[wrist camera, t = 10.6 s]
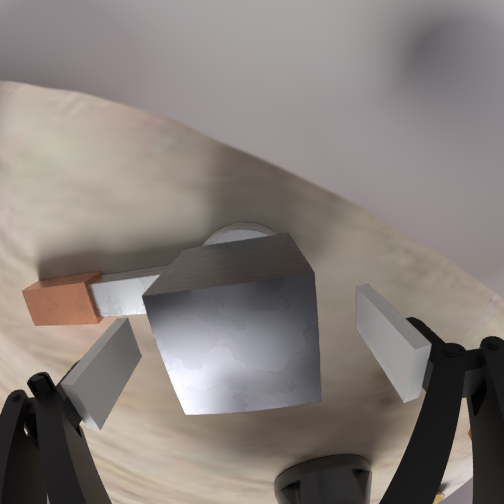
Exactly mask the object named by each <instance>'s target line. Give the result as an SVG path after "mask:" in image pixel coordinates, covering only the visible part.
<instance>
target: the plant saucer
mask: <svg viewBox="0 0 504 504" xmlns="http://www.w3.org/2000/svg"><path fill="white" fill-rule="evenodd" d="M444 497H445V495H444V494H443V493H440V492H437V494H436V497H435V500H434V502H433V504H438V503H439V502H441V501H442V500H443V498H444Z"/></svg>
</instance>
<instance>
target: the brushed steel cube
mask: <svg viewBox="0 0 504 504" xmlns="http://www.w3.org/2000/svg"><path fill="white" fill-rule="evenodd" d="M142 299H143V303H144V306H145V309H146V313H147V316H148V319H149V322H150V325H151V328H152V331H153V334H154V337H155V340H156V342H157V345H158V348H159V351H160V354H161V356H162V359H163V362H164V364H165V367H166V369H167V372H168V374H169V377H170V379H171V382H172V384H173V387H174V389H175V391H176V394H177V396H178V399H179V401H180V403H181V405H182V408H183V410H184V412H185V414H220V413H236V412H248V411H258V410H267V409H275V408H283V407H290V406H296V405H302V404H308V403H313V402H319V401H321V389H320V354H319V332H318V315H317V300H316V287H315V275H314V271H313V270H312V268H311V267H310V265H309V263H308V262H307V260H306V259H305V257H304V256H303V254H302V253H301V251H300V250H299V248H298V247H297V245H296V244H295V242H294V241H293V239H292V238H291V236H290V235H289V233H285V234H278V235H271V236H264V237H258V238H251V239H245V240H238V241H231V242H225V243H218V244H212V245H206V246H199V247H193V248H187V249H184V250H183V251H182V252H181V253H180V254H179V255H178V256H177V257H176V258H175V259H174V260H173V262H172V263H171V264H170V265H169V266H168V267H167V268H166V269H165V270H164V271H163V272H162V274H161V275H160V276H159V277H158V278H157V279H156V280H155V281H154V282H153V284H152V285H151V286H150V287H149V288H148V289H147V290H146V291H145V293H144V294H143V295H142Z"/></svg>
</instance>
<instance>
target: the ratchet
mask: <svg viewBox="0 0 504 504" xmlns="http://www.w3.org/2000/svg"><path fill="white" fill-rule="evenodd" d="M271 235H278V234H277V233H276V232H274V231H273V230H271V229H269V228H267V227H265V226H263V225H259V224H256V223H248V222H242V223H234V224H230V225H227V226H225V227H222V228H221V229H219V230H217V231H216V232H214V233H213V234H212V235H211V236H210V237H209V238H208V239H207V240H206V241H205V242H204V244H203V245H202V246H206V245H212V244H218V243H225V242H231V241H238V240H245V239H251V238H258V237H264V236H271ZM168 266H169V265H166V266H159V267H152V268H146V269H139V270H132V271H126V272H119V273H112V274H106V275H101V271H97V272H91V273H85V274H78V275H72V276H66V277H60V278H54V279H47V280H41V281H38V282H36V283H34V284H33V285H31V286H29V287H28V288H26V289H24V290H23V291H22V293H23V296H24V298H25V301H26V304H27V307H28V309H29V312H30V315H31V317H32V320H33V322H34V325H35V326H39V325H79V324H98V323H99V322H100V321H101V320H102V319H103V318H104V317H106V316H119V315H132V314H143V313H146V309H145V306H144V303H143V299H142V295H143V294H144V293H145V291H146V290H147V289H148V288H149V287H150V286H151V285H152V284H153V282H154V281H155V280H156V279H157V278H158V277H159V276H160V275H161V274H162V272H163V271H164V270H165V269H166V268H167V267H168Z"/></svg>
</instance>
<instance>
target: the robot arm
mask: <svg viewBox="0 0 504 504" xmlns="http://www.w3.org/2000/svg"><path fill="white" fill-rule="evenodd" d="M356 330H357V331H358V333H359V334H360V336H361V337H362V339H363V340H364V342H365V343H366V345H367V346H368V348H369V349H370V351H371V352H372V354H373V355H374V357H375V358H376V360H377V361H378V363H379V364H380V366H381V367H382V369H383V370H384V372H385V374H386V375H387V377H388V378H389V380H390V381H391V383H392V384H393V386H394V388H395V389H396V391H397V392H398V394H399V396H400V397H401V399H402V400H403V402H404V403H405V402H408V401H411V400H414V399H416V398H419V397H420V394H421V390H422V387H423V388H424V390H425V391H426V395H425V399H424V402H423V405H422V408H421V411H420V414H419V417H418V420H417V423H416V425H415V428H414V431H413V433H412V436H411V439H410V441H409V444H408V446H407V448H406V451H405V453H404V455H403V458H402V460H401V462H400V464H399V466H398V469H397V471H396V473H395V475H394V477H393V479H392V481H391V483H390V485H389V487H388V489H387V490H386V492H385V494H384V496H383V498H382V499H381V501H380V503H379V504H433V502H434V500H435V497H436V494H437V492H438V489H439V486H440V484H441V481H442V478H443V475H444V472H445V469H446V466H447V462H448V459H449V455H450V452H451V448H452V444H453V440H454V436H455V432H456V427H457V422H458V417H459V412H460V406H461V400H462V398H465V397H466V399H467V405H468V412H469V419H470V428H471V438H472V452H473V504H504V340H503V339H501V338H499V337H496V336H489V337H486V338H484V339H483V340H482V341H481V344H480V348H479V349H474V350H467V351H466V349H465V348H464V347H463V346H461V345H459V344H456V343H445V342H444V341H443V340H442V339H441V338H439V337H438V336H437V335H436V334H435V333H434V332H433V331H431V329H430V328H429V327H427V326H426V325H425V324H424V323H423V322H422V321H421V320H419V319H416V318H414V317H410V318H406V319H405V318H404V317H403V316H402V315H401V314H400V313H399V312H398V311H397V310H396V309H395V308H394V307H393V306H392V305H391V304H390V303H389V302H387V301H386V300H385V299H384V298H383V297H382V296H381V295H380V294H379V293H378V292H377V291H376V290H374V289H373V288H372V287H371V286H370V285H369V284H366V285H361V286H356ZM141 357H142V355H141V353H140V350H139V347H138V345H137V342H136V339H135V337H134V334H133V331H132V328H131V325H130V322H129V319H128V318H117V319H116V321H115V322H114V323H113V324H112V325H111V326H110V327H109V328H108V329H107V330H106V332H105V333H104V334H103V335H102V336H101V337H100V338H99V339H98V340H97V342H96V343H95V344H94V345H93V346H92V347H91V348H90V350H89V351H88V352H87V353H86V354H85V355H84V356H83V358H82V359H81V360H79V361H78V362H76V363H75V364H74V365H73V367H72V368H71V370H69V371H68V372H67V374H66V375H65V376H64V377H63V378H62V379H61V381H60V382H59V383H58V384H57V385H56V387H55V385H54V383H53V381H52V379H51V378H50V376H49V374H48V373H46V372H40V373H37V374H35V375H33V376H32V377H30V379H29V380H28V382H27V385H28V386H29V388H30V390H31V392H32V393H33V395H34V396H35V397H32V398H28V396H27V394H26V393H25V391H24V390H15V391H14V392H11V394H10V395H9V396H8V397H7V399H6V402H5V404H4V407H3V409H2V412H1V415H0V504H47V494H48V498H49V502H50V504H112V503H111V501H110V499H109V496H108V494H107V492H106V490H105V488H104V486H103V483H102V481H101V479H100V476H99V474H98V472H97V469H96V467H95V464H94V461H93V459H92V456H91V453H90V451H89V448H88V445H87V442H86V439H85V436H84V433H83V430H82V428H81V427H80V425H79V424H80V422H81V420H83V422H84V423H85V425H86V426H87V428H89V429H95V430H101V428H102V426H103V424H104V423H105V421H106V419H107V417H108V415H109V413H110V412H111V410H112V408H113V406H114V404H115V403H116V401H117V399H118V397H119V395H120V394H121V392H122V390H123V388H124V387H125V385H126V383H127V381H128V380H129V378H130V376H131V374H132V373H133V371H134V369H135V367H136V366H137V364H138V362H139V361H140V359H141ZM24 428H25V429H26V431H27V432H28V434H27V435H26V433H25V431H24ZM371 483H372V471H371V468H370V465H369V462H368V461H367V460H366V459H365V458H363V457H361V456H356V455H337V456H330V457H324V458H319V459H315V460H312V461H308V462H305V463H302V464H300V465H297V466H295V467H293V468H290V469H288V470H287V471H285V472H283V473H282V474H281V475H280V476H278V477H277V479H276V480H275V482H274V491H275V497H276V499H277V501H278V503H279V504H370V494H371Z"/></svg>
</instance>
